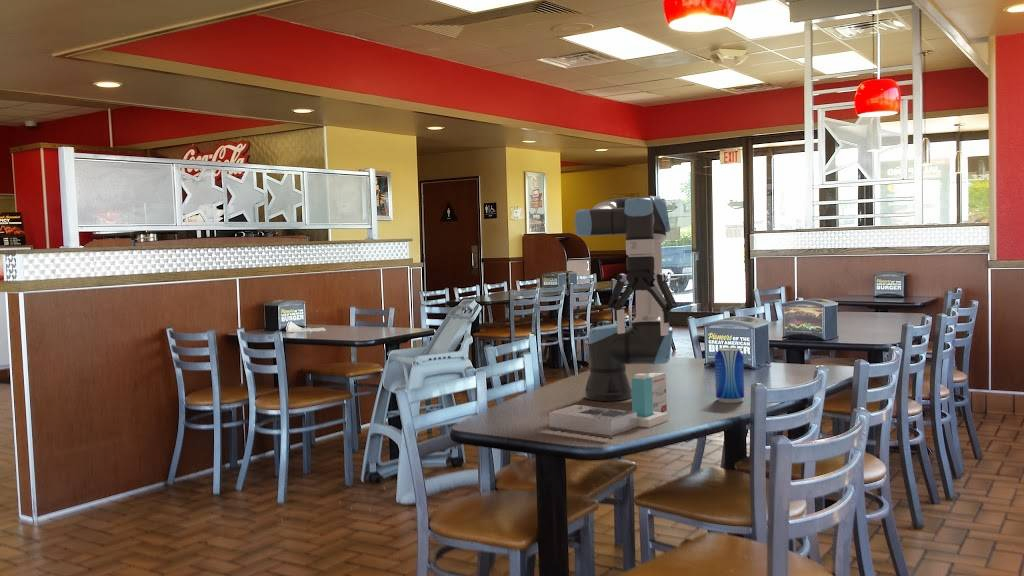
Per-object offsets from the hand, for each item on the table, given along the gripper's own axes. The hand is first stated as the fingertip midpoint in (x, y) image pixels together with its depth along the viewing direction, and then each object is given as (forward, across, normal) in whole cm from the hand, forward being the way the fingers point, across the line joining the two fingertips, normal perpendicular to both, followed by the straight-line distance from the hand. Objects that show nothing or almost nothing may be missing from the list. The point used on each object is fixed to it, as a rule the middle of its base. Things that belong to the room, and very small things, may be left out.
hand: (642, 334), depth 235 cm
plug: (+24, 0, 0) cm, 24 cm away
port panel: (+25, -9, -12) cm, 29 cm away
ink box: (+25, -5, +13) cm, 28 cm away
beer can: (+25, +4, +42) cm, 49 cm away
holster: (+25, 0, 0) cm, 25 cm away
